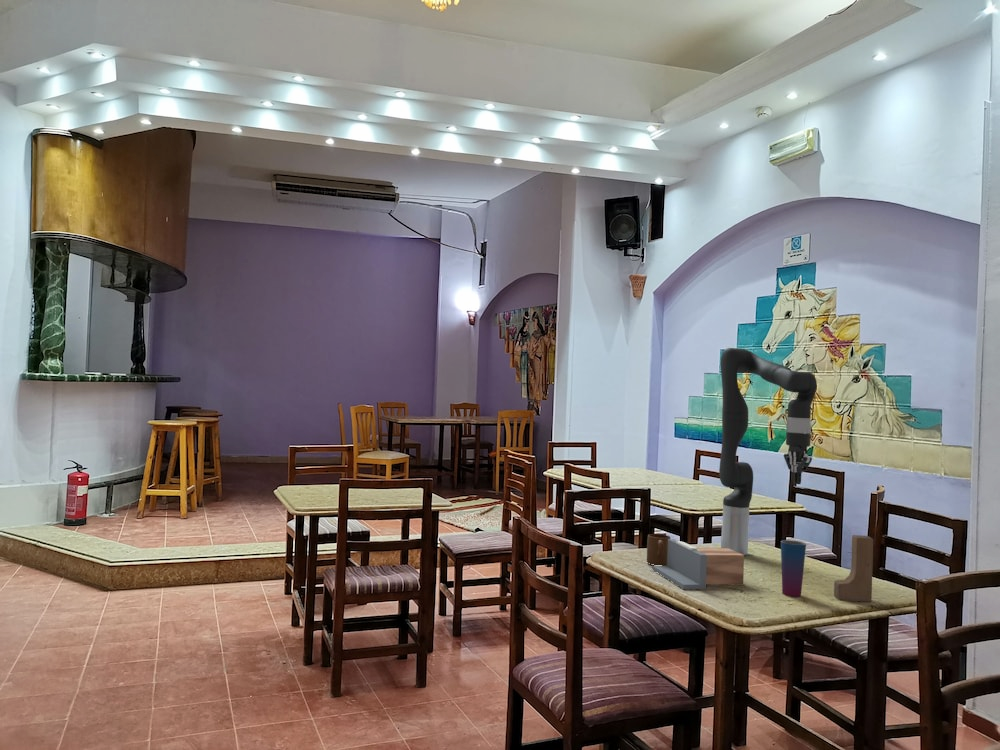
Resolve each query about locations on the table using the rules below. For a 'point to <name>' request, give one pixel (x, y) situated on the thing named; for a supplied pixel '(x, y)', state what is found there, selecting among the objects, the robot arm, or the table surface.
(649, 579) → the table surface
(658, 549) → the mug
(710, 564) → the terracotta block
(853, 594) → the wooden block
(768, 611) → the table surface
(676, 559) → the rail
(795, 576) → the cup
